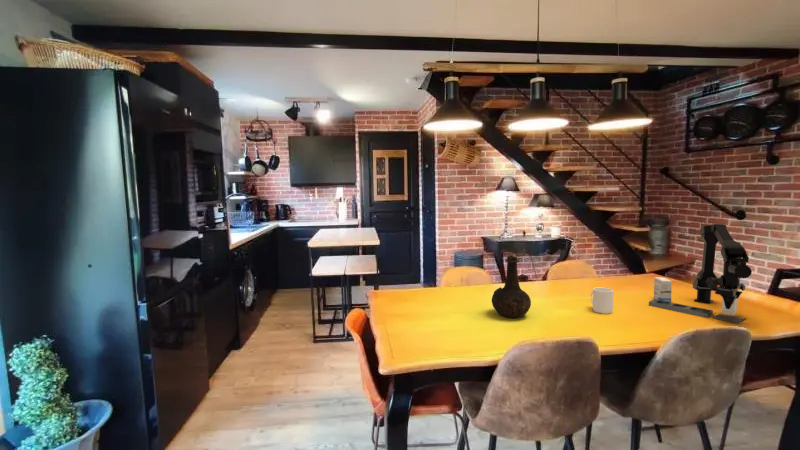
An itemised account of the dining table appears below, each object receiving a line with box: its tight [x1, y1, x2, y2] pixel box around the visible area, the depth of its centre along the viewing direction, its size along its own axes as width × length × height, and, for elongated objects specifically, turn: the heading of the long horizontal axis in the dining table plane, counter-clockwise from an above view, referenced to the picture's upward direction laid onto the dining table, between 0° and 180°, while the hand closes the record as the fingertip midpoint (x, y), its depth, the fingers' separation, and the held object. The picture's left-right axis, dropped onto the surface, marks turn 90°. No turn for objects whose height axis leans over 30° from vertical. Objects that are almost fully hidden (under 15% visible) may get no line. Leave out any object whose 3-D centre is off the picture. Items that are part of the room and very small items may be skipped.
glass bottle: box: [491, 255, 532, 319], centre depth 179 cm, size 18×18×28 cm
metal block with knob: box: [720, 297, 738, 316], centre depth 170 cm, size 4×4×8 cm
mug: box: [590, 286, 614, 315], centre depth 185 cm, size 9×12×11 cm
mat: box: [712, 313, 746, 325], centre depth 171 cm, size 9×9×1 cm
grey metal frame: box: [648, 298, 714, 319], centre depth 184 cm, size 7×24×2 cm, turn 36°
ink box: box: [653, 276, 673, 302], centre depth 198 cm, size 9×5×12 cm, turn 168°
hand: (729, 307), depth 170 cm, fingers closed on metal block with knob, 4 cm apart
